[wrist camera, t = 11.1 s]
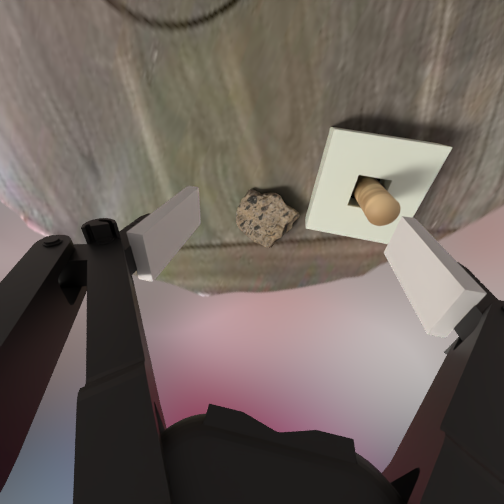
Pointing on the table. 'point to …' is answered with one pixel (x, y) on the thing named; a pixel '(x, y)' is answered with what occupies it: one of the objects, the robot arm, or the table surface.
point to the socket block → (372, 165)
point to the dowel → (375, 201)
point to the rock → (264, 217)
